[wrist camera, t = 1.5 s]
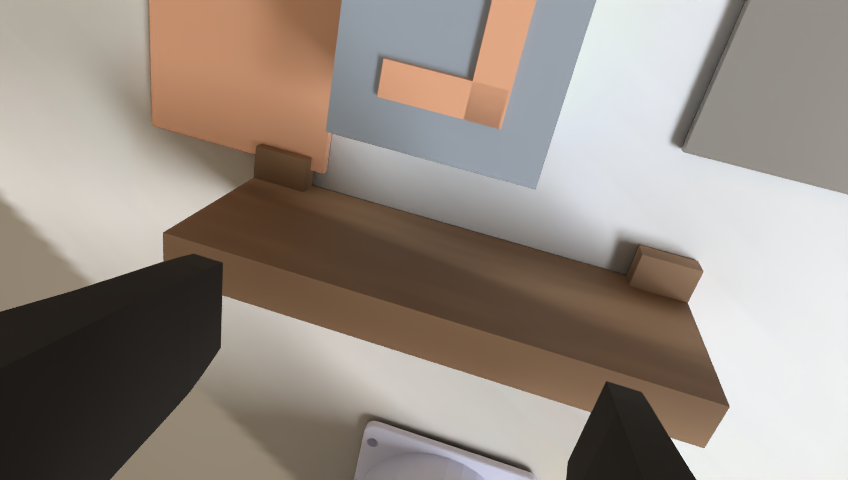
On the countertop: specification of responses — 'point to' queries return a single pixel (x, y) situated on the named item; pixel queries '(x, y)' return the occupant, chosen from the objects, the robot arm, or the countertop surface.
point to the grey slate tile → (781, 94)
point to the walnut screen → (461, 295)
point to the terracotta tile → (245, 72)
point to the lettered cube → (457, 79)
